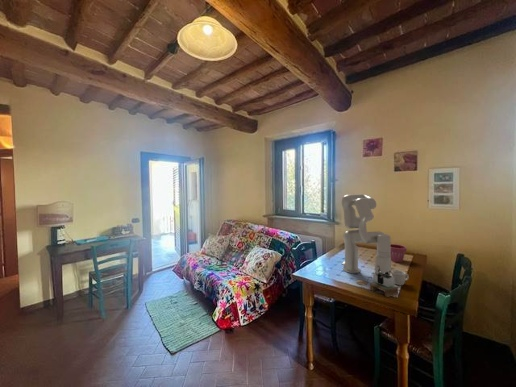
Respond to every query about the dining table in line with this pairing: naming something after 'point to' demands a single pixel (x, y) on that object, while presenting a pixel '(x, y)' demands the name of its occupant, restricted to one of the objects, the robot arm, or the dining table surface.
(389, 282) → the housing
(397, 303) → the dining table surface
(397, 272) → the cup
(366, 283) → the coaster
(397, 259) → the plant pot
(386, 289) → the stand
